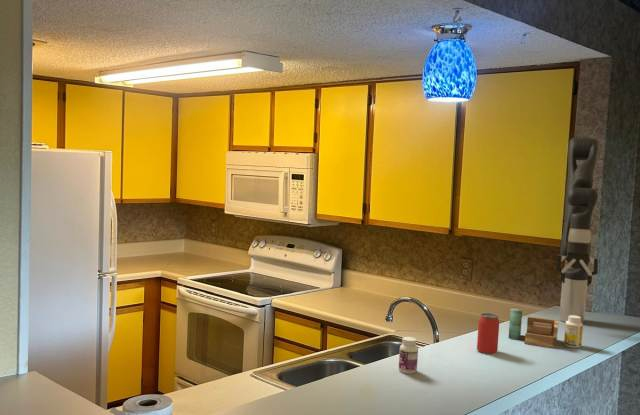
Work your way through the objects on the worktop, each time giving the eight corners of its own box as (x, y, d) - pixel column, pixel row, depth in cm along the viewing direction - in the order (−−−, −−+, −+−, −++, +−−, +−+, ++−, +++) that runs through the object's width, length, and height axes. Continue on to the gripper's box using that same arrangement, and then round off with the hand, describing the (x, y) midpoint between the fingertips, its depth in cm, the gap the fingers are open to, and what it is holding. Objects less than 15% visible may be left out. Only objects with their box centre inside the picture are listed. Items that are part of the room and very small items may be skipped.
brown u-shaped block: (526, 335, 227) (527, 316, 226) (556, 339, 223) (558, 320, 223) (524, 343, 217) (526, 323, 216) (556, 348, 213) (557, 327, 213)
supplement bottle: (576, 343, 220) (578, 314, 219) (584, 348, 214) (586, 318, 213) (560, 343, 219) (563, 314, 218) (568, 348, 214) (571, 318, 213)
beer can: (472, 351, 206) (475, 314, 205) (482, 347, 211) (485, 311, 210) (491, 356, 202) (493, 319, 201) (501, 351, 206) (503, 315, 205)
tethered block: (509, 334, 227) (511, 307, 226) (550, 340, 222) (552, 312, 221) (507, 339, 221) (509, 311, 220) (550, 345, 216) (552, 316, 215)
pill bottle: (394, 368, 186) (396, 336, 185) (410, 367, 188) (412, 335, 187) (404, 375, 181) (406, 342, 180) (420, 373, 183) (422, 340, 182)
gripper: (599, 242, 237) (595, 285, 238) (558, 239, 242) (555, 281, 243) (600, 243, 230) (596, 287, 231) (558, 239, 235) (555, 283, 236)
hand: (575, 284), depth 237 cm, fingers open, 8 cm apart
